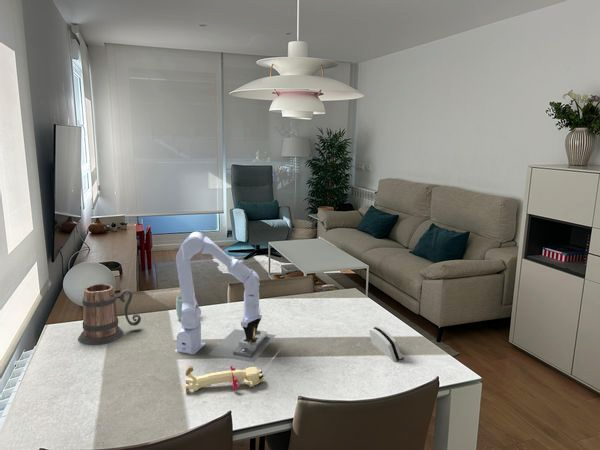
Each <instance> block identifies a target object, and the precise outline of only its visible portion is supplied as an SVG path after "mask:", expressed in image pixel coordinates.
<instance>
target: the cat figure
mask: <svg viewBox="0 0 600 450" xmlns="http://www.w3.org/2000/svg"><path fill="white" fill-rule="evenodd" d="M193 371H194V367H193V366H191V365H190V366H188V368H187V369H186V370H185V376H186V377H187V378H185V393H186V394H190V390H192V391H194V392H195V391H198V390H199V389H202V388H203V387H210V386H212V385H215V384H222V383H228V382H229V383H232V389H233V391H235V390H236V389H237V388H239V384H238V382H243V383H244V384H246V385H247V386H249V388H251V387H252V388H253V387H255V385H258V384H260V383H263V382H264V380H266V378H265V374H264V373H263V371H262V369H258V367H257V366H250V367H246V368H245V369H237V368H235V367H233V366H232V365H231V366H230V370H223V371H217V372H211V373H207V374H204V375H203V374H202V375H199V376H198V375H197V376H196V375H195V374H193Z"/></svg>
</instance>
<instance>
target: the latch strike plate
mask: <svg viewBox="0 0 600 450" xmlns="http://www.w3.org/2000/svg"><path fill="white" fill-rule="evenodd" d="M268 334H269V332H268V331H266V330H265V331H264V330H260V329H257V332H256V336H255V343H252V342H247V339H246V335H245V336H244V337H243V338H242V339H241V341H240V342H239V346H238V347H237V348H236V349H235V350H234V351H233V355H239V356H246V357H252V355H253V354H254V353H255V352H256V351H257V349H258V348H259V347H260V346H261V345H262V343H263V342H264V341H265V340H266V338H267V335H268Z"/></svg>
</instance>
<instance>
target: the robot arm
mask: <svg viewBox="0 0 600 450" xmlns="http://www.w3.org/2000/svg"><path fill="white" fill-rule="evenodd" d="M200 252H201V254H202V255H205V254H206V255H211V256H212V257H213V258H215V259H216V260H218V261H219V262H221V263H222V264H223V265H225V266H226V267H227V268H226V270H227V272H228V273H229V274H231V275H232V276H233V277H235V279H237V280H238V281H239V282H240V283H242V284H243V287H244V292H243V315H242V320H241V322H240V325H241V327H242V329H243V330H244V332H245V335H246V339H247V340H252V339H253V333H254V328H255V336H256V332H257V330H258V328H259V325H260V322H261V321H262V317H263V315H260V314H261V308H260V285H261V284H260V276H259V274H258V272H257V271H255V270H254V269H252V268H249V266H247V265H245V264H244V261H243V260H242V259H240V260H239V259H237V258H235V259H233V258H232V257H230V256H229V254H227V253H226V252H225V251H224V250H223V249H221V247H219V246H218V245H217V244H216V243H215V242H214V241H213V240H212V239H211V238H209V237H208V236H205V234H203V232H200V231H193V232H191V233H190V234H189V235H188V236H186V238H185V239H184V241H183V242H182V243H181V245H180V248H179V249H178V251H177V253H176V256H175V263H176V264H175V265H176V269H177V270H176V271H177V277H178V282H179V283H178V284H179V290H180V295H181V298H182V317H181V320H180V330H179V332H178V333H177V335H176V348H175V350H174V352H177V353H183V354H190V355H195V354H196V353H197V352H198V351H199V350H201V349H202V348H203V347H204V346H205V345H206V343H205V342H202V322H201V321H200V316H201V314H202V310H201V307H200V306H199V304H198V301H197V299H196V295H195V286H194V279H193V273H192V266H191V259H192V258H193V257H194V256H195V255H197V254H198V253H200Z"/></svg>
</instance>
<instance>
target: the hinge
mask: <svg viewBox="0 0 600 450" xmlns="http://www.w3.org/2000/svg"><path fill="white" fill-rule="evenodd" d="M368 332H369V336H370V341H371V344H373V346H375V347H376V348H377V349H379V350H380V351H381V352H382V353H383V354H384V355H385V356H386V357H388V359H390V360H391V361H392V362H398V361H397V360H401V359H403V360H406V359H405V355H404V354H403V353H401V350H400V348H399V344H398V342H397V340H396V339H395V338H394V337H393V335H392V334H391V333H390V332H389V331H387V330H386V329H385V328H383V327H382V326H379V325H376V326H374V327H373V328H370V329H369V330H368Z"/></svg>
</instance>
